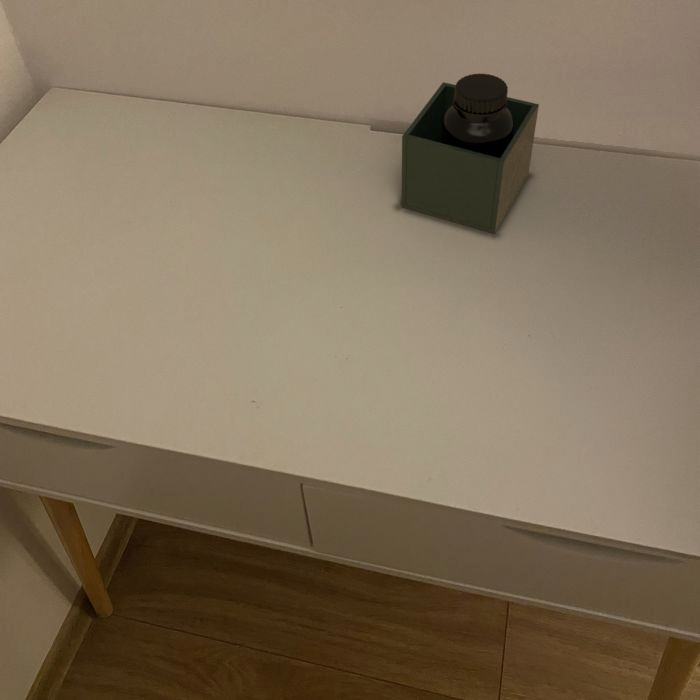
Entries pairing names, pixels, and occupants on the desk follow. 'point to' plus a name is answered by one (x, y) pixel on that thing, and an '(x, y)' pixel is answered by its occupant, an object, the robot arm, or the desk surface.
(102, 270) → the desk surface
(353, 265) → the desk surface
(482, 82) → the supplement bottle
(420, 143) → the open box
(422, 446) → the desk surface
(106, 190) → the desk surface
